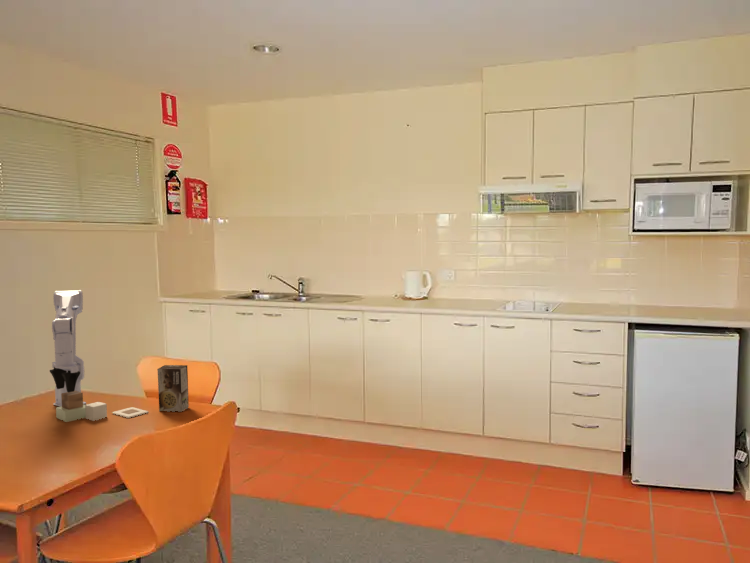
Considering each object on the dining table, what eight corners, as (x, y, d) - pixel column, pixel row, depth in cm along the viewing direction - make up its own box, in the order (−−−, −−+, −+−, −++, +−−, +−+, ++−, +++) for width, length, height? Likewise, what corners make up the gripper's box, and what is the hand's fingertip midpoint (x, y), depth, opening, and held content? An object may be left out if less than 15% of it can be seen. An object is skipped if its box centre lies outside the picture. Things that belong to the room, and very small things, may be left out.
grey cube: (85, 418, 208) (85, 404, 208) (99, 415, 212) (98, 401, 212) (93, 421, 205) (93, 407, 205) (107, 417, 210) (106, 403, 209)
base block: (56, 418, 210) (56, 407, 209) (79, 413, 216) (79, 402, 215) (65, 423, 204) (65, 411, 204) (89, 417, 210) (88, 406, 210)
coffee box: (189, 407, 222) (188, 364, 221) (182, 412, 216) (181, 368, 214) (166, 406, 223) (164, 364, 222) (158, 411, 216) (156, 368, 215)
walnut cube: (61, 407, 209) (61, 393, 209) (75, 404, 213) (75, 390, 213) (69, 409, 206) (68, 395, 206) (83, 406, 210) (82, 392, 210)
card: (112, 413, 214) (112, 411, 214) (132, 408, 220) (131, 406, 220) (128, 418, 208) (128, 416, 208) (148, 412, 215) (148, 411, 215)
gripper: (85, 352, 207) (87, 390, 208) (65, 348, 216) (67, 384, 217) (65, 355, 201) (66, 395, 202) (45, 351, 210) (47, 388, 211)
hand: (65, 390), depth 209 cm, fingers open, 7 cm apart
